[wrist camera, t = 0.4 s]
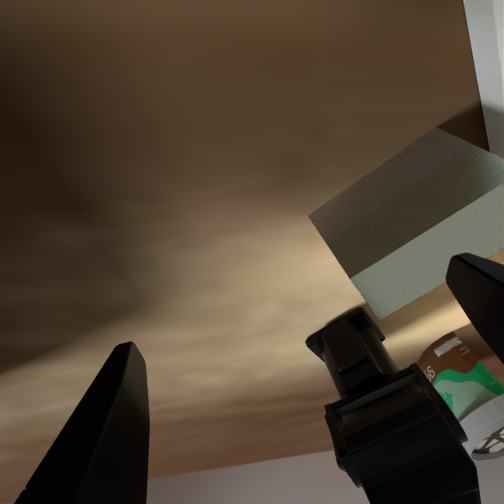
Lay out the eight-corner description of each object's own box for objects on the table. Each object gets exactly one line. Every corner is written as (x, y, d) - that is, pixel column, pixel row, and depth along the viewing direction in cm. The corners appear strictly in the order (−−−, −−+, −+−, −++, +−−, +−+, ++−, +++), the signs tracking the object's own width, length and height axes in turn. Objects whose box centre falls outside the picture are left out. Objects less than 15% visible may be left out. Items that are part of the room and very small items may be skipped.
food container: (399, 348, 38) (461, 440, 30) (451, 324, 37) (528, 412, 29) (415, 391, 45) (467, 474, 38) (458, 372, 45) (521, 452, 37)
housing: (450, 180, 25) (531, 231, 20) (335, 255, 27) (379, 320, 22) (435, 126, 22) (525, 169, 17) (307, 215, 24) (349, 279, 19)
